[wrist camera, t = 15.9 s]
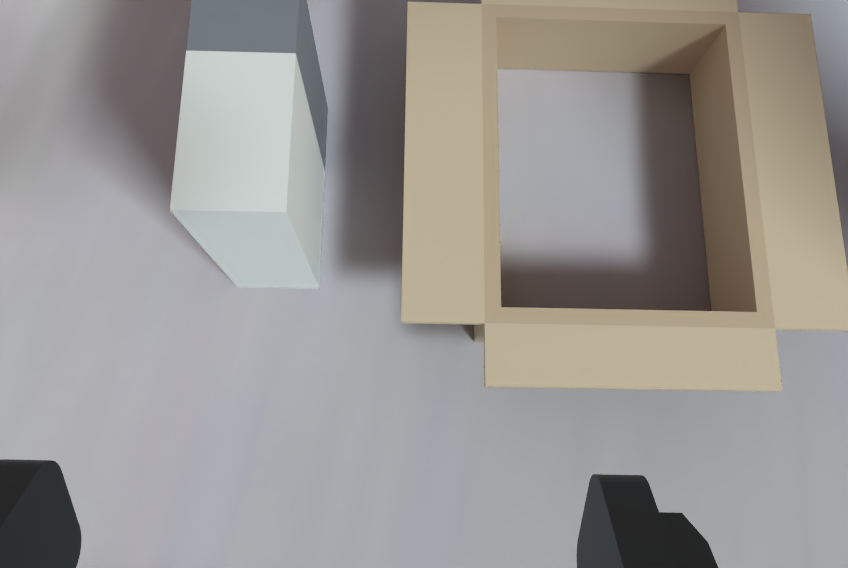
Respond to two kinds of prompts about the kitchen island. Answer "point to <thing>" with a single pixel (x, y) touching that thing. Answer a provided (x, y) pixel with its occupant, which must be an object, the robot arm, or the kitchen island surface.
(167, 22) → the kitchen island surface
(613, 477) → the robot arm
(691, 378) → the carton
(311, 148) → the box
